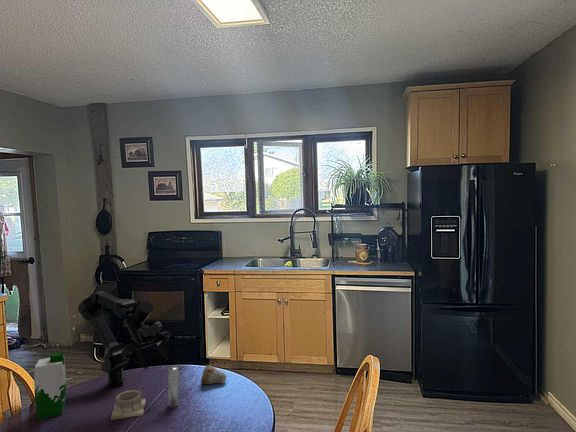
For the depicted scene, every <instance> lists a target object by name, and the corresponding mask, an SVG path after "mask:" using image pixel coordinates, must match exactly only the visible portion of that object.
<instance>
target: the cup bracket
mask: <svg viewBox="0 0 576 432" xmlns="http://www.w3.org/2000/svg"><path fill="white" fill-rule="evenodd" d="M114 403H115V404H114V407H113V410H112V412H111V416H110V421H113V420H114V421H115V420H119V419H120V420H122V419H127V418H133V417H139V416H144V413H145V406H146V398H143V393H142V391H140V390H138V389H137V390H136V389H133V390H126V391H123V392H121V393H119V394H117V395H116V397H115V400H114Z"/></svg>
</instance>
